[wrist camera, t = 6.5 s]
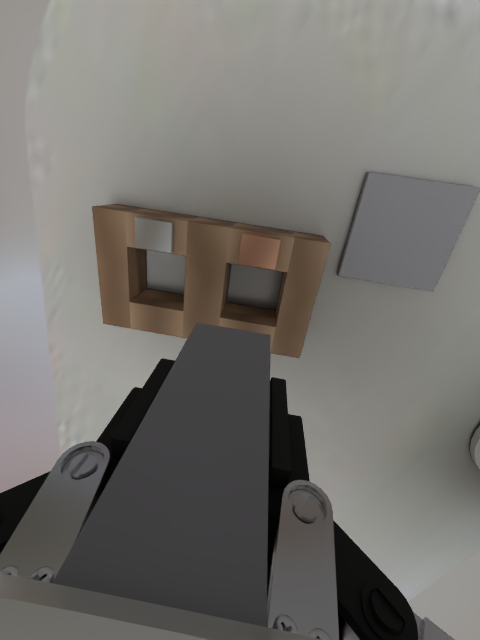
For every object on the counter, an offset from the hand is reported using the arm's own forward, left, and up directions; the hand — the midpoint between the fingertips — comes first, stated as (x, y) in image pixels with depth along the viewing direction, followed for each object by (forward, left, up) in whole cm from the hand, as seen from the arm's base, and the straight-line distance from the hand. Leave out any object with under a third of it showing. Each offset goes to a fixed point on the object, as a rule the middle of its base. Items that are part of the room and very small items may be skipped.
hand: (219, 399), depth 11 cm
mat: (-11, -6, -16) cm, 21 cm away
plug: (0, 0, -3) cm, 3 cm away
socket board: (+4, 0, -16) cm, 16 cm away
